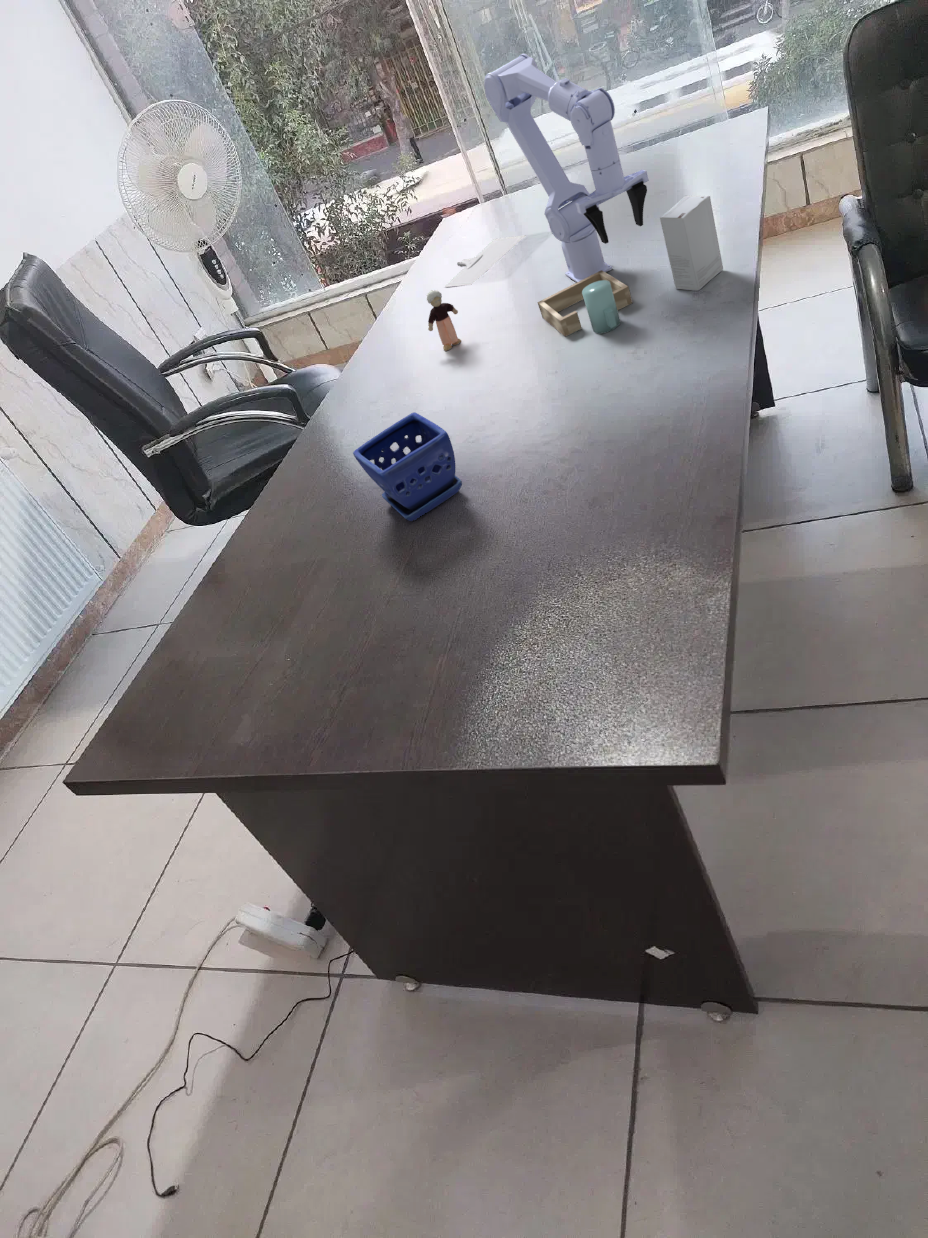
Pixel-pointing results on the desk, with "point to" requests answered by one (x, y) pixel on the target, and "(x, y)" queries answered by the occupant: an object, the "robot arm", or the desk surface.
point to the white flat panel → (483, 261)
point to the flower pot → (412, 465)
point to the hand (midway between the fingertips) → (622, 233)
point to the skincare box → (692, 242)
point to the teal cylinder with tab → (601, 306)
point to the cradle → (575, 295)
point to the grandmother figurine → (442, 319)
